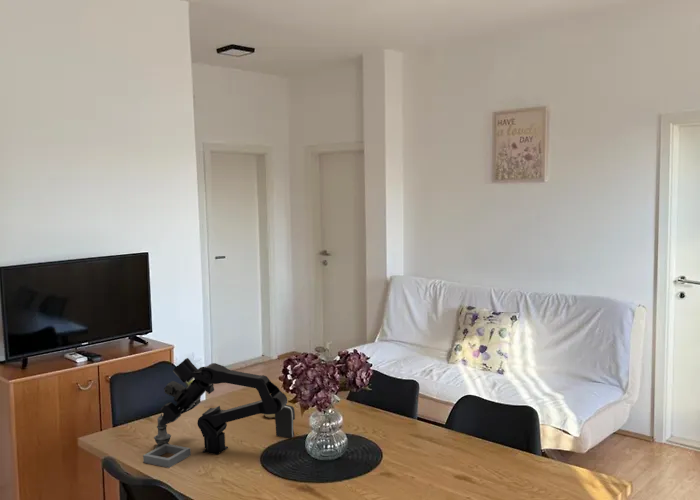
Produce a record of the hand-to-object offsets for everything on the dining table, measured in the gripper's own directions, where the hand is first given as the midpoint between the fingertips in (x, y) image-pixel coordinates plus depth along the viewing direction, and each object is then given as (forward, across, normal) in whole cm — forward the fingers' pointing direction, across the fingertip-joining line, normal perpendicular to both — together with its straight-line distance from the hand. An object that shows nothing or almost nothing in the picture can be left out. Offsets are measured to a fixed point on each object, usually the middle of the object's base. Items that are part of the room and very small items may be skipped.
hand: (167, 420), depth 231 cm
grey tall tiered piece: (+9, 0, +5) cm, 10 cm away
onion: (-11, -36, +25) cm, 45 cm away
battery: (-20, -18, +34) cm, 43 cm away
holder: (+3, +10, +10) cm, 14 cm away
